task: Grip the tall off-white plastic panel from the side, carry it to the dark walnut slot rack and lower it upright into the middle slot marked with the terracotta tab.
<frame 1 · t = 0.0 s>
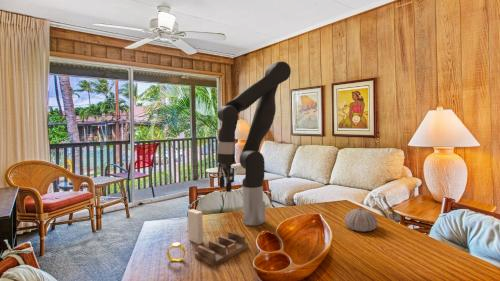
hand: (225, 189, 120), 17 cm above the table, fingers open, 8 cm apart
rack: (222, 252, 99), on the table
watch: (176, 261, 94), on the table
sea urchin shell: (360, 228, 118), on the table
panel: (196, 240, 109), on the table
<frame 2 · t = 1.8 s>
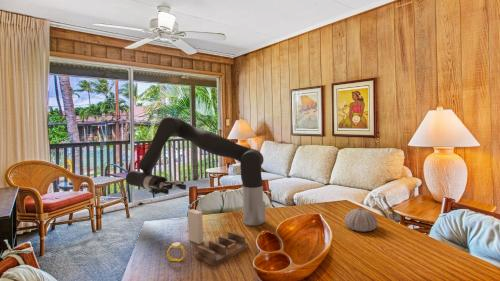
hand: (176, 189, 115), 19 cm above the table, fingers open, 8 cm apart
nothing on the table moved.
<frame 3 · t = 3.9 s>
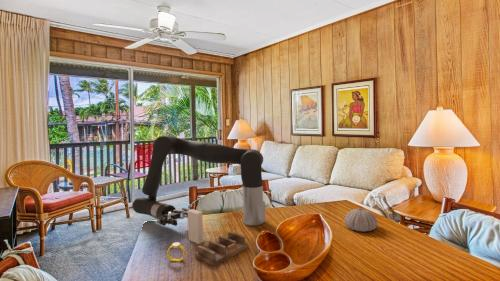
hand: (185, 219, 113), 7 cm above the table, fingers open, 8 cm apart
nothing on the table moved.
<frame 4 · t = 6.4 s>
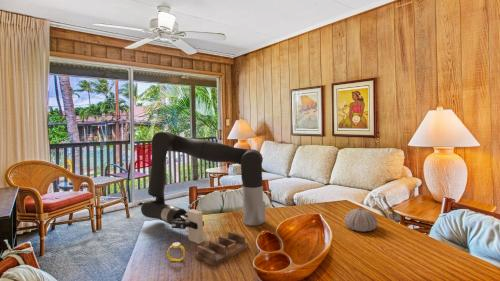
hand: (200, 225, 107), 7 cm above the table, fingers closed on panel, 2 cm apart
panel: (196, 240, 109), on the table, touching gripper
everything else where it was.
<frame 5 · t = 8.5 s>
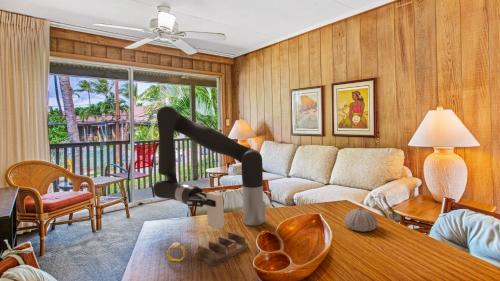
hand: (218, 202, 99), 18 cm above the table, fingers closed on panel
panel: (215, 225, 101), point 9 cm above the table, touching gripper
everything else where it was.
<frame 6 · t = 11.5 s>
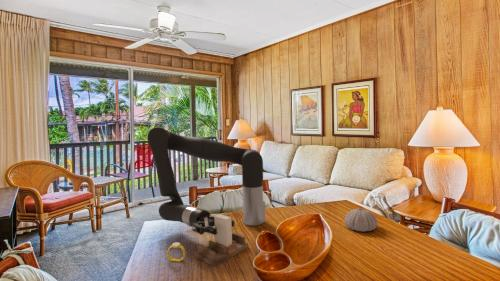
hand: (225, 227, 97), 10 cm above the table, fingers open, 8 cm apart
panel: (223, 249, 98), point 1 cm above the table, touching rack
everything else where it was.
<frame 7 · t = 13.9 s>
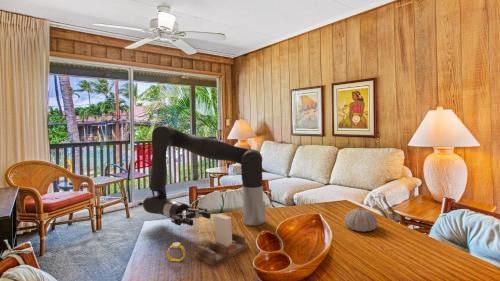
hand: (201, 219, 106), 10 cm above the table, fingers open, 8 cm apart
nothing on the table moved.
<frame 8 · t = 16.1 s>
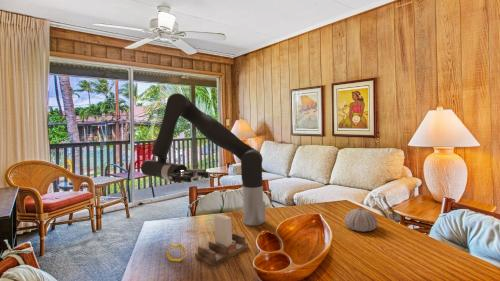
hand: (199, 177, 104), 26 cm above the table, fingers open, 8 cm apart
nothing on the table moved.
at the end: panel 1.0 cm off-centre on the rack, point 1.5 cm above the rack's base; panel tilted 0°; the gripper is holding nothing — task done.
